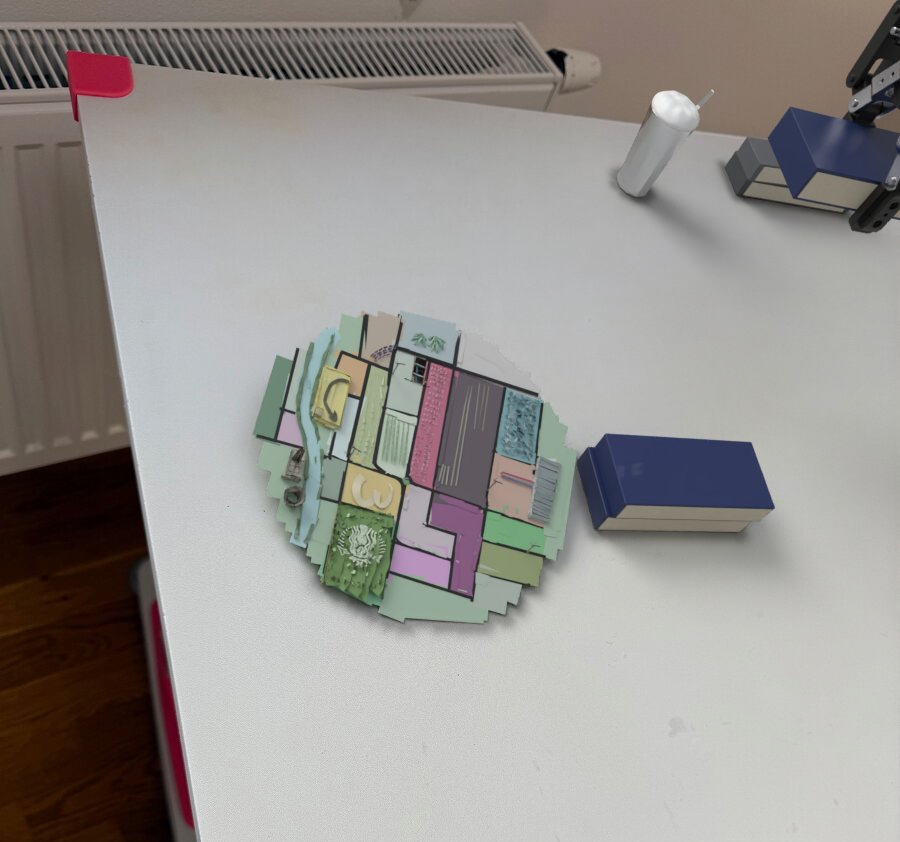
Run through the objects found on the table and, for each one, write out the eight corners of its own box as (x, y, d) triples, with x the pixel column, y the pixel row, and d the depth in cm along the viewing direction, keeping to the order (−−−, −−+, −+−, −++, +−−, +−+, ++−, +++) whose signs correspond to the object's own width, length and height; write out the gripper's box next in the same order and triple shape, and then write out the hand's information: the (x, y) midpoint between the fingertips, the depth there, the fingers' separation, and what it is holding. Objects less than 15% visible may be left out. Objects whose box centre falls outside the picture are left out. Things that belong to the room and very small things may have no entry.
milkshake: (667, 200, 92) (726, 109, 84) (624, 204, 90) (680, 111, 82) (645, 166, 94) (700, 73, 85) (602, 168, 91) (655, 73, 83)
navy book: (905, 169, 74) (931, 140, 71) (934, 228, 71) (962, 200, 69) (767, 137, 69) (790, 105, 67) (792, 199, 66) (817, 169, 64)
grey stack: (832, 184, 103) (857, 153, 100) (846, 216, 102) (872, 185, 98) (722, 164, 98) (745, 131, 95) (735, 197, 96) (759, 164, 93)
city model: (257, 656, 60) (278, 626, 55) (204, 329, 66) (218, 274, 61) (597, 620, 70) (642, 591, 65) (523, 340, 77) (559, 293, 71)
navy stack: (722, 468, 78) (751, 439, 75) (745, 535, 76) (775, 508, 72) (575, 461, 73) (599, 430, 70) (595, 533, 71) (620, 504, 68)
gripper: (1132, 63, 55) (916, 276, 69) (1030, -89, 61) (850, 135, 75) (1039, 34, 52) (834, 261, 66) (942, -122, 58) (772, 117, 72)
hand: (843, 194), depth 71 cm, fingers closed on navy book, 6 cm apart
